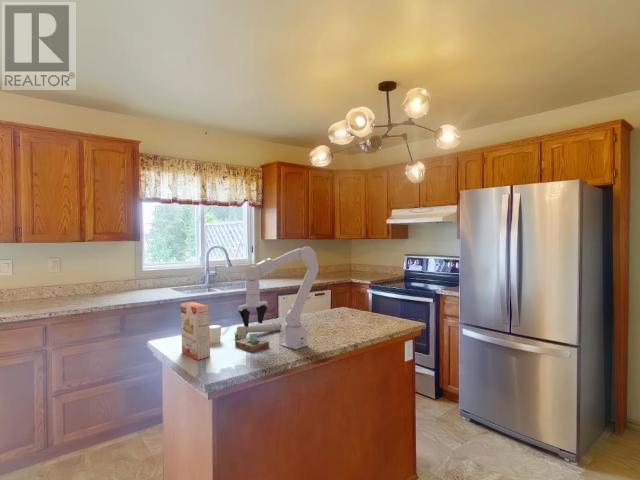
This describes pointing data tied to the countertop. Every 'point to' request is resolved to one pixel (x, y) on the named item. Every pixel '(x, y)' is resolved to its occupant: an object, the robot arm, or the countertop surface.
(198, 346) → the cracker box
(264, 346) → the socket board
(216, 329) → the white cup
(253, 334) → the peg
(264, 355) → the countertop surface
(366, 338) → the countertop surface
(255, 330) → the cream knobbed rod
